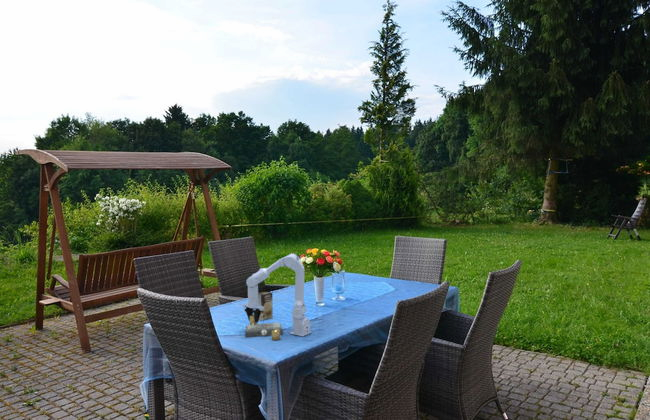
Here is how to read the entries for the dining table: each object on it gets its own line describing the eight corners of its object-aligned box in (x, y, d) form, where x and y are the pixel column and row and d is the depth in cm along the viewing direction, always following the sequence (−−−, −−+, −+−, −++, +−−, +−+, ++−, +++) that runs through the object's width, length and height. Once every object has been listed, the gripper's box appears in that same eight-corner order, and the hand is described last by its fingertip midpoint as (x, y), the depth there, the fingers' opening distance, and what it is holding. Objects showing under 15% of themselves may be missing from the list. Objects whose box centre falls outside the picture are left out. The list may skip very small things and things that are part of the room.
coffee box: (262, 321, 289) (261, 295, 289) (255, 319, 293) (254, 293, 293) (273, 317, 296) (272, 292, 296) (266, 316, 300) (265, 291, 300)
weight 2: (281, 338, 253) (281, 329, 253) (276, 341, 250) (276, 331, 250) (275, 337, 256) (275, 328, 256) (270, 339, 252) (269, 330, 252)
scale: (282, 335, 260) (282, 328, 260) (245, 337, 257) (245, 330, 257) (280, 327, 274) (280, 321, 274) (245, 329, 271) (245, 323, 271)
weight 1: (258, 324, 265) (258, 315, 265) (250, 325, 263) (250, 316, 263) (256, 322, 269) (256, 313, 269) (249, 323, 268) (248, 314, 267)
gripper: (267, 297, 264) (267, 321, 265) (249, 294, 273) (250, 317, 274) (258, 300, 259) (258, 324, 259) (240, 296, 268) (240, 320, 268)
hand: (253, 321), depth 266 cm, fingers closed on weight 1, 4 cm apart
